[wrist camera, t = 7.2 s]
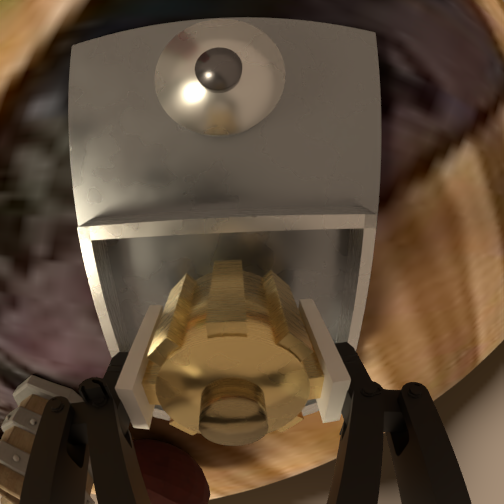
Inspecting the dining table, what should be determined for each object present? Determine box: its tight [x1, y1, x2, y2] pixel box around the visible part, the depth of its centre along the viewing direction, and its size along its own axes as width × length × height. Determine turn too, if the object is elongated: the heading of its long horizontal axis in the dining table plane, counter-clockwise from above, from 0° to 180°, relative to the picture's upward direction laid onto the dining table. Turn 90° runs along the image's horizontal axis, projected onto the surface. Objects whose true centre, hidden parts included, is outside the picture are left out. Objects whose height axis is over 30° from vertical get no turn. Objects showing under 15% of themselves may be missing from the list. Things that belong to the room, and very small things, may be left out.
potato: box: [133, 439, 210, 504], centre depth 22 cm, size 9×12×9 cm
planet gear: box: [142, 260, 324, 446], centre depth 13 cm, size 8×8×8 cm
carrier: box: [68, 17, 381, 421], centre depth 16 cm, size 19×28×5 cm
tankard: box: [0, 375, 95, 504], centre depth 18 cm, size 20×13×15 cm, turn 125°
